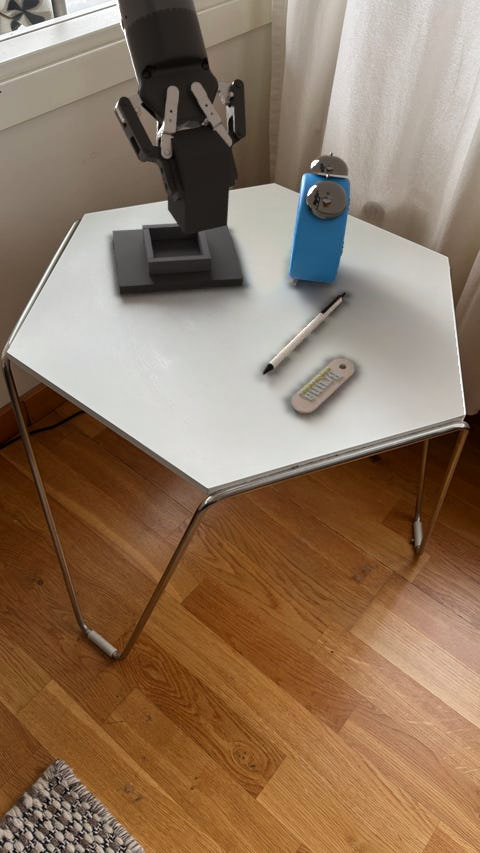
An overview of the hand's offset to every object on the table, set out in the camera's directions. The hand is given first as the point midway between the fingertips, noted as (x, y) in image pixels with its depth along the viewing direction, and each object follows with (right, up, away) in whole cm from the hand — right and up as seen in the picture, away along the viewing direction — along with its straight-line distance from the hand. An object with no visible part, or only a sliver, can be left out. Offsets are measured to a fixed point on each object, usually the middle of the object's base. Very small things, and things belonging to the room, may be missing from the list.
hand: (204, 192), depth 74 cm
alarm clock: (+13, -3, +23) cm, 26 cm away
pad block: (-1, -1, +4) cm, 5 cm away
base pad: (-5, -2, +22) cm, 23 cm away
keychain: (+13, -20, +9) cm, 25 cm away
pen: (+12, -13, +14) cm, 23 cm away
